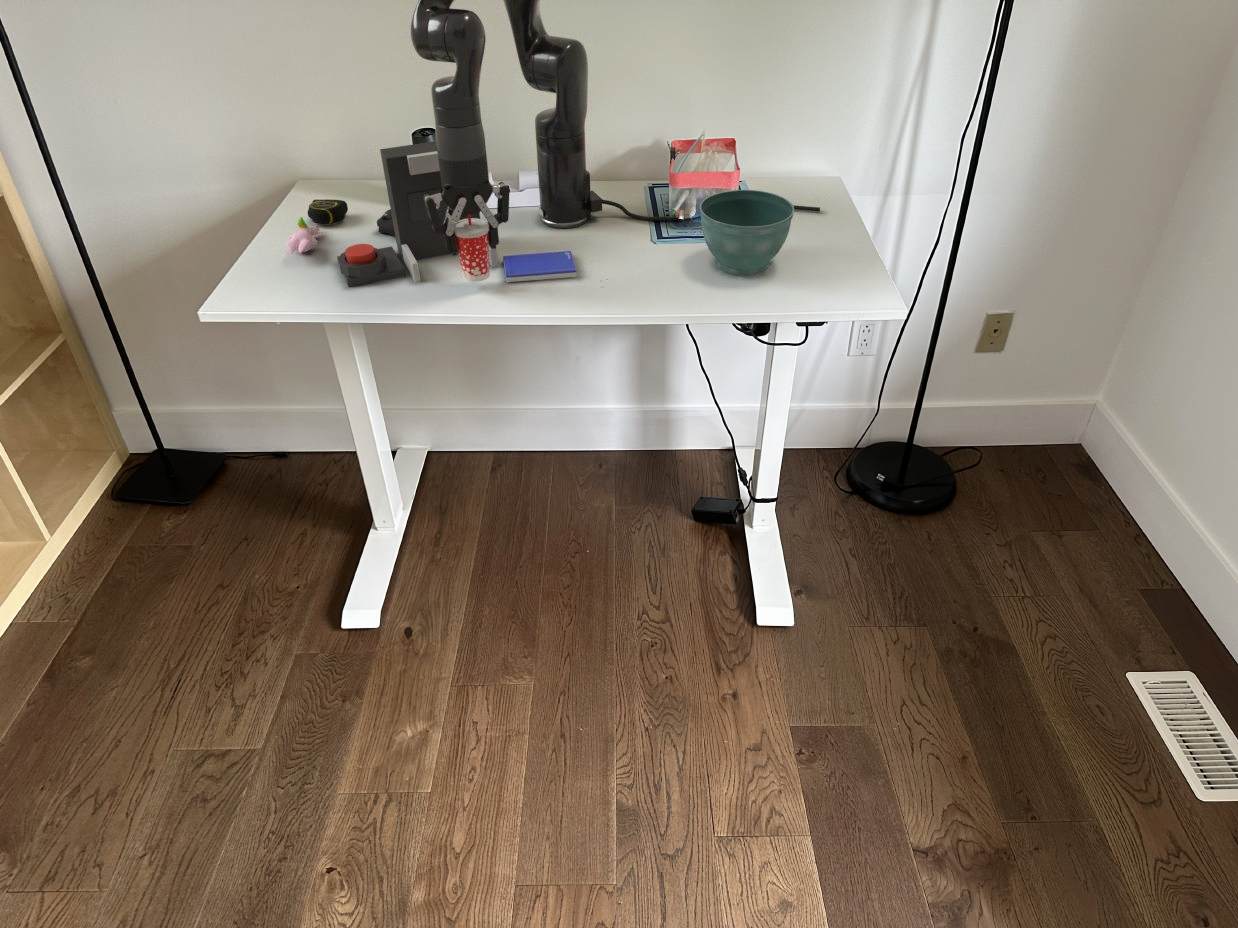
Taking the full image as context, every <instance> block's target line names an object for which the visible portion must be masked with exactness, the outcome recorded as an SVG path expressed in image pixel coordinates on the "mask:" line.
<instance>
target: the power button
mask: <svg viewBox="0 0 1238 928" xmlns="http://www.w3.org/2000/svg"><path fill="white" fill-rule="evenodd" d="M374 248H375V247H374V246H373V245H372V244H369V243H357V244H354V245H350V246H348V247H347V248H345V250H344V252H345V254H346V259H347V262H348V263H350V264H365V263H369V262H371V261H373V260H375V259H376V254H375V249H374Z"/></svg>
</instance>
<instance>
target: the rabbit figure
mask: <svg viewBox="0 0 1238 928" xmlns="http://www.w3.org/2000/svg"><path fill="white" fill-rule="evenodd" d="M297 226H298V231H297V232H295V233H293V234H288V235H289V236H288V237H289V238H290V239H289V241H288V242H286V245H285V246H286V250H287V251H288V252H289V254H291V255H293V254H294V253H295V251H296V252H298V253H299V254H302V253H306V252H310V250H312V249H313V248H315V247H316V246H317V245H318V240H317V238H320V237H322V236H324V233H323V232H320V229H319V226H318V224H316V223H315V224H314V226H313V225H308V224H307V223H306V221H305V220H304V218H303V216H300V217H299V218H298V220H297ZM319 232H320V233H319Z"/></svg>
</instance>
